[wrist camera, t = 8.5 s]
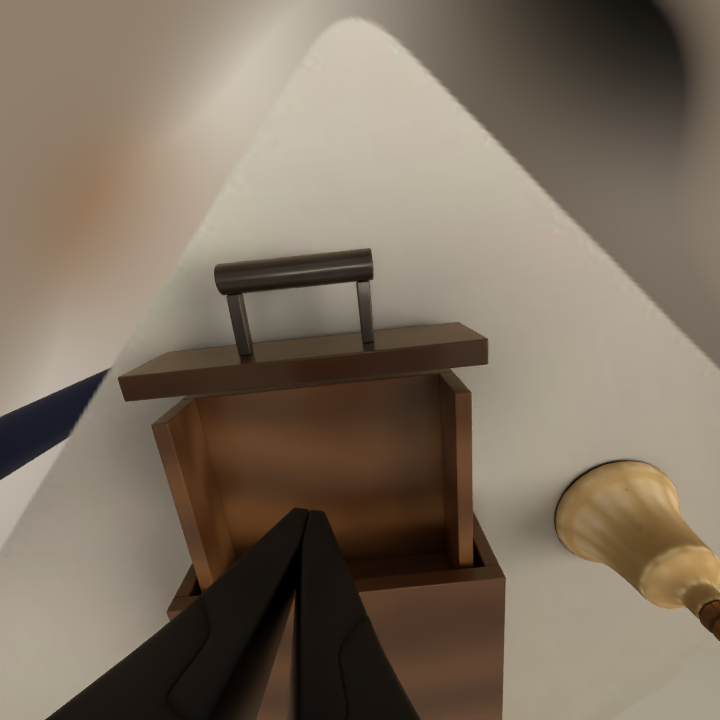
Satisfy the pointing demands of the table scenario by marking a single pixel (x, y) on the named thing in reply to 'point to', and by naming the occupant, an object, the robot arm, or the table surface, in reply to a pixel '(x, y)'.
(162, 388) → the drawer
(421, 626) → the cabinet
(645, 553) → the hand bell
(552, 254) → the table surface
